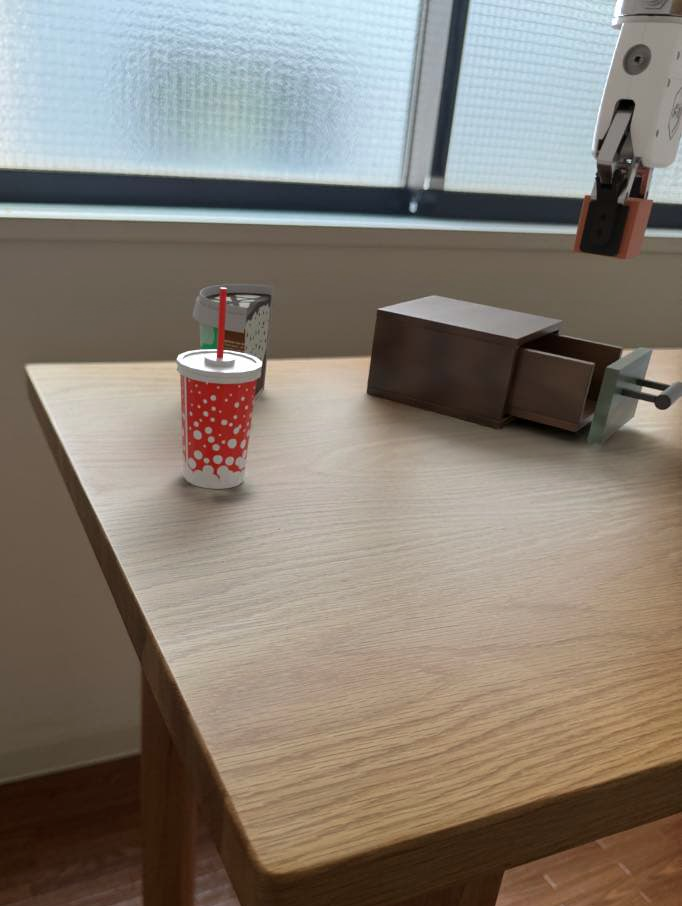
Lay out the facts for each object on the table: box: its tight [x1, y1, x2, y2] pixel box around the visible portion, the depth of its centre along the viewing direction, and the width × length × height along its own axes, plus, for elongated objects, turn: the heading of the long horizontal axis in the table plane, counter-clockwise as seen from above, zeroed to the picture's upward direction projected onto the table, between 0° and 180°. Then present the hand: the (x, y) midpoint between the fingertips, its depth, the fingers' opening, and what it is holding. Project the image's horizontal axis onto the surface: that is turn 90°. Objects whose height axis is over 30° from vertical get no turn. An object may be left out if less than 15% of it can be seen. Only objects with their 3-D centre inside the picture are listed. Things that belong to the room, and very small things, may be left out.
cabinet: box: [366, 294, 564, 430], centre depth 87 cm, size 15×13×9 cm
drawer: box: [505, 333, 682, 445], centre depth 81 cm, size 18×11×7 cm, turn 54°
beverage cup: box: [176, 288, 262, 490], centre depth 61 cm, size 6×6×14 cm
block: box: [572, 194, 654, 260], centre depth 74 cm, size 5×5×5 cm
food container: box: [192, 283, 275, 402], centre depth 80 cm, size 12×6×10 cm, turn 168°
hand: (607, 249), depth 75 cm, fingers closed on block, 4 cm apart
